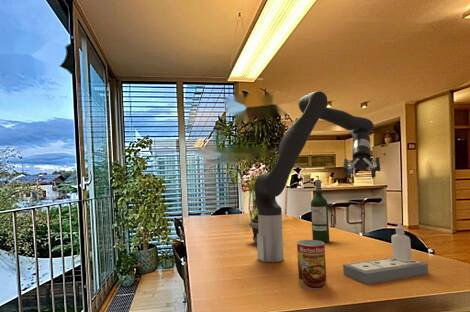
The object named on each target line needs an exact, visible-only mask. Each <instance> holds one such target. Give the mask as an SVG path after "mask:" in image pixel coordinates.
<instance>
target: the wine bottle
mask: <svg viewBox="0 0 470 312" xmlns="http://www.w3.org/2000/svg"><path fill="white" fill-rule="evenodd" d="M314 181H315V196H314V198H312V200H311V202H310V207H311V208H310V211H311V212H310V214H311V231H312V232H311V234H312V235H311V236H312V240H318V241H322V242H324V243H325V244H328V243H330V230H329V229H330V227H329V210H328V209H329V207H328V200H327V199H326V198H325V197H323V193H322V192H323V191H322V180H321V179H315V180H314Z"/></svg>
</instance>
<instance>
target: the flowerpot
mask: <svg viewBox="0 0 470 312" xmlns="http://www.w3.org/2000/svg"><path fill="white" fill-rule="evenodd" d="M248 225H249V227H250V228H251V229H252V234H253V236H252V241H253V242H254V243H255V245H257V234H259V227H258V212H257V213H256V214H255V216H254V217H253V218H252V219H251V221H249V223H248Z"/></svg>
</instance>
